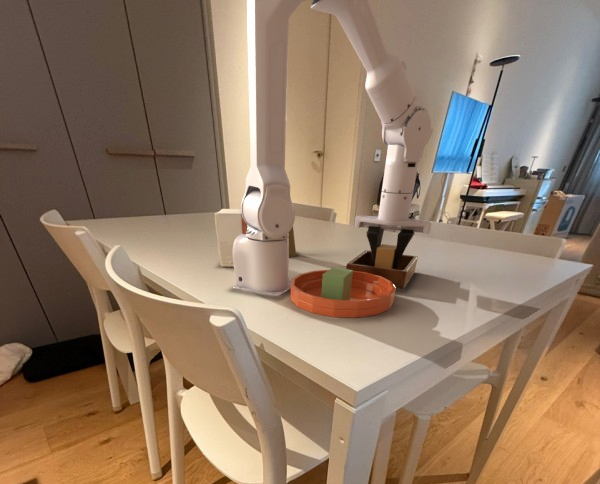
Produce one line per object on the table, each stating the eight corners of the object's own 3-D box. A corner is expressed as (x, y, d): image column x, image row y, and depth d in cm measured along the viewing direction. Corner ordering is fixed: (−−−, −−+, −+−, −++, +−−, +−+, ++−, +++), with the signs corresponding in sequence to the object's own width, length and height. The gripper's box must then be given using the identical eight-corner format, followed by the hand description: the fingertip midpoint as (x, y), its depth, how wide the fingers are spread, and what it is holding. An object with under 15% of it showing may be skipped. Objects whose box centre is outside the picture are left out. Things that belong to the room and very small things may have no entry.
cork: (293, 257, 82) (293, 206, 76) (269, 256, 83) (267, 205, 76) (298, 252, 87) (299, 203, 80) (275, 250, 88) (274, 202, 81)
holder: (344, 282, 66) (346, 263, 64) (363, 267, 76) (365, 250, 74) (402, 291, 63) (406, 271, 60) (414, 273, 72) (418, 256, 70)
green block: (320, 305, 54) (322, 274, 51) (330, 297, 58) (332, 267, 55) (341, 309, 53) (344, 277, 50) (349, 300, 56) (353, 270, 54)
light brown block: (373, 273, 70) (377, 247, 67) (378, 268, 73) (382, 243, 70) (390, 276, 69) (394, 249, 66) (394, 270, 72) (399, 245, 69)
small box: (245, 267, 74) (241, 213, 68) (219, 267, 74) (213, 212, 68) (250, 258, 80) (246, 208, 74) (226, 258, 80) (221, 208, 74)
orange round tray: (273, 308, 54) (272, 290, 52) (313, 280, 67) (314, 265, 65) (377, 328, 49) (381, 308, 47) (400, 294, 61) (403, 277, 60)
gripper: (440, 192, 63) (423, 267, 71) (365, 189, 68) (357, 259, 76) (435, 195, 58) (418, 276, 66) (354, 191, 63) (347, 267, 70)
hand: (385, 268), depth 70 cm, fingers closed on light brown block, 3 cm apart
